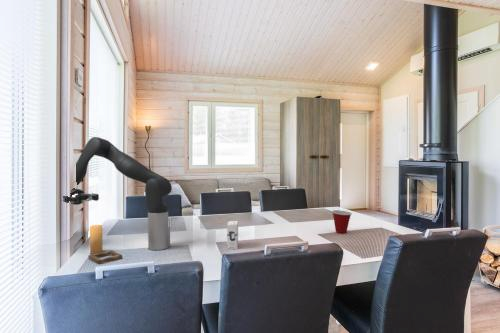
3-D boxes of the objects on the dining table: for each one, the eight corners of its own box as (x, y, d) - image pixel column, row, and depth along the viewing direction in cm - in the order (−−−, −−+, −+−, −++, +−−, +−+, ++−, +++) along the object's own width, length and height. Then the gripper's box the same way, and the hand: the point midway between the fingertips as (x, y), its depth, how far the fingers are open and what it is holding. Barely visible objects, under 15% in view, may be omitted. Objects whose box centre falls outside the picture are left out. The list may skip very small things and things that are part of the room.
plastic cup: (351, 235, 175) (351, 213, 174) (331, 234, 178) (331, 212, 178) (351, 231, 185) (352, 210, 185) (332, 229, 188) (332, 209, 188)
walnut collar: (111, 253, 143) (111, 250, 143) (122, 258, 137) (122, 254, 137) (88, 258, 136) (88, 255, 136) (98, 264, 129) (98, 260, 129)
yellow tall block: (99, 250, 148) (99, 224, 148) (104, 252, 145) (104, 226, 145) (88, 252, 145) (88, 226, 144) (93, 255, 141) (92, 228, 141)
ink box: (228, 244, 158) (228, 220, 158) (238, 244, 158) (238, 220, 158) (226, 249, 150) (226, 224, 149) (237, 249, 150) (237, 224, 149)
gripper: (57, 189, 151) (70, 192, 140) (89, 187, 161) (103, 189, 150) (57, 205, 151) (70, 209, 140) (89, 202, 161) (103, 205, 151)
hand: (87, 199), depth 145 cm, fingers open, 8 cm apart
